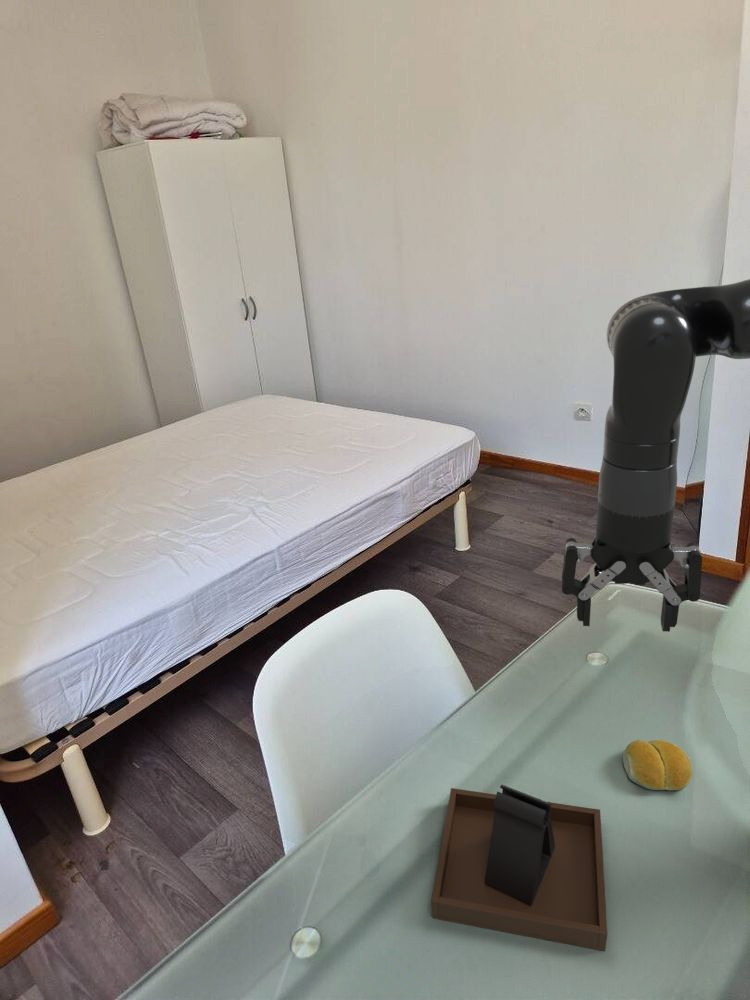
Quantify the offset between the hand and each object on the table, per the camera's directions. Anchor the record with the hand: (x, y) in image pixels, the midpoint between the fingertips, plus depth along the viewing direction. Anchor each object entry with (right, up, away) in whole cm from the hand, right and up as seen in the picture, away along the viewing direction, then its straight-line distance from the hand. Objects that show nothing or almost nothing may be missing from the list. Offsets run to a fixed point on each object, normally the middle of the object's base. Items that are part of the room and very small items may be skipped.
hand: (625, 624), depth 78 cm
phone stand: (-10, -32, +8) cm, 34 cm away
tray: (-10, -32, +8) cm, 35 cm away
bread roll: (+12, -25, +20) cm, 34 cm away
